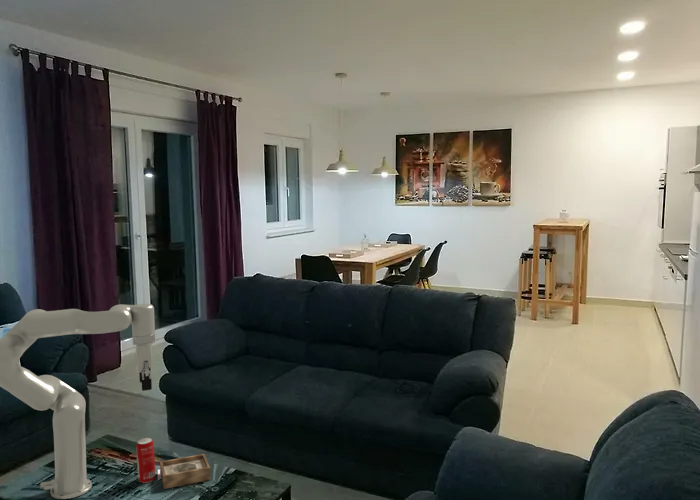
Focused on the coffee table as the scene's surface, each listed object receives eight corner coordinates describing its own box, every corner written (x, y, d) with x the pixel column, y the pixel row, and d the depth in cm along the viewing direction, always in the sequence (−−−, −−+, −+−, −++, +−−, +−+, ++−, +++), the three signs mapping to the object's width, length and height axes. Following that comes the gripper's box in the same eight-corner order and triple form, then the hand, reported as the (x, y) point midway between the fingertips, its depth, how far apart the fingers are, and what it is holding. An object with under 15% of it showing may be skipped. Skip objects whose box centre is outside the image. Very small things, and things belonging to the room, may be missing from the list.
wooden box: (163, 488, 187) (163, 476, 187) (160, 473, 198) (159, 461, 198) (210, 479, 194) (210, 467, 194) (204, 465, 205) (204, 453, 204)
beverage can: (158, 476, 196) (157, 436, 195) (150, 485, 190) (149, 443, 188) (142, 475, 197) (142, 435, 195) (133, 484, 190) (133, 442, 189)
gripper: (130, 334, 198) (132, 380, 199) (134, 345, 182) (136, 395, 184) (152, 332, 201) (154, 377, 202) (157, 343, 185) (159, 391, 187)
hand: (145, 385), depth 193 cm, fingers open, 9 cm apart
